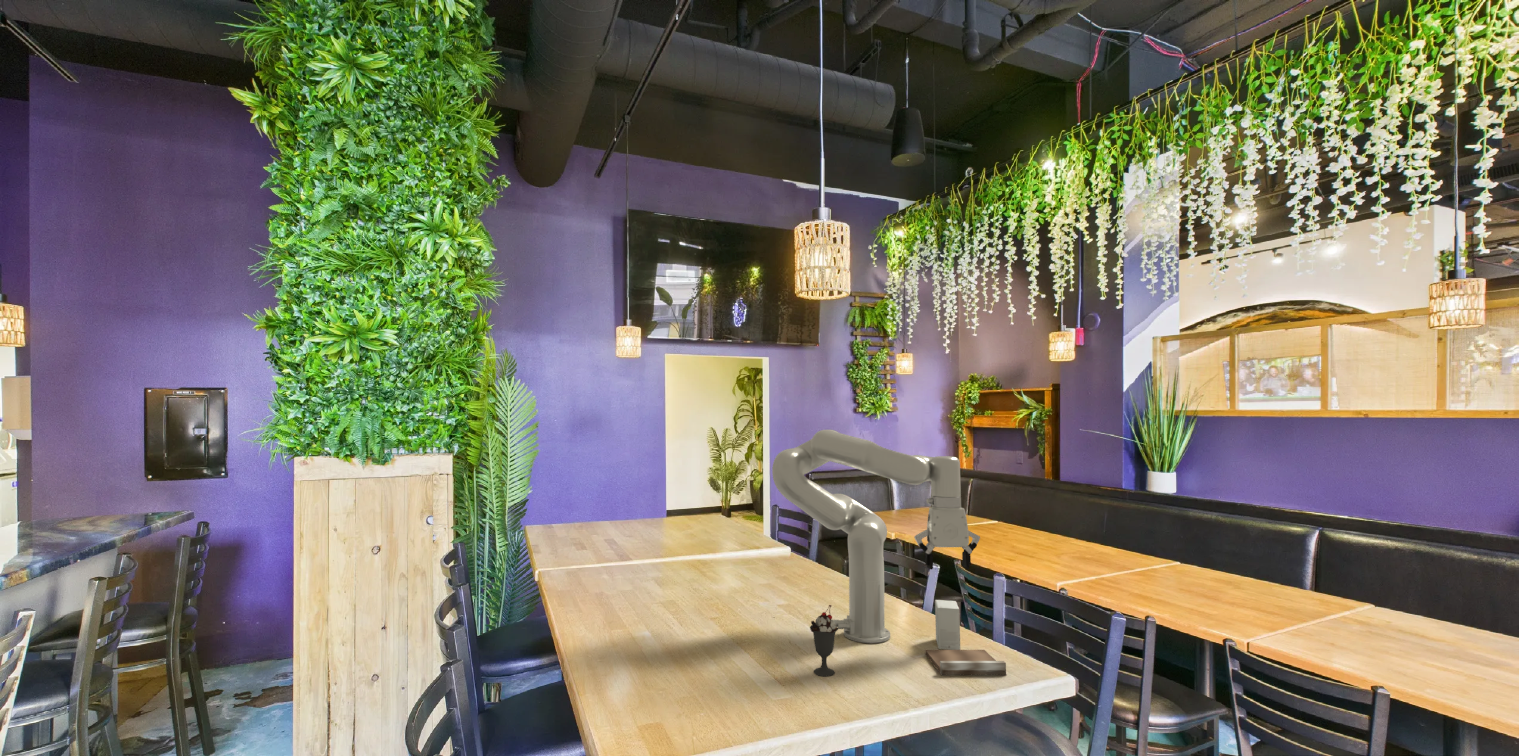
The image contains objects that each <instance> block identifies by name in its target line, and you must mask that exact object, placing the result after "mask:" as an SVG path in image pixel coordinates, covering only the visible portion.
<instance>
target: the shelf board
mask: <svg viewBox="0 0 1519 756" xmlns="http://www.w3.org/2000/svg"><path fill="white" fill-rule="evenodd" d="M924 652H925V653H924V654H925V656H926V657H927V658H928V660H929V661H930V662H931V664H932V665H933V666H934V668H935V669H936V670H937V671H938V673H939V674H940V675H941V676H1007V663H1006V661H1005V660H996V659H995V658H994V656H992V655H991V654H990V653H989V652H988V651H986V649H960V650H947V649H925V651H924Z"/></svg>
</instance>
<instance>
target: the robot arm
mask: <svg viewBox="0 0 1519 756" xmlns="http://www.w3.org/2000/svg"><path fill="white" fill-rule="evenodd" d="M829 462H830V463H834V464H835V463H836V464H837V465H838V464H839V465H841V466H842V465H843V466H846V467H850V468H853V469H856V470H860V471H863V472H865V473H869V474H874V475H877V476H880V477H882V478H885V479H886V478H887V479H889V480H893V481H895V482H900V483H904V484H907V485H912V486H917V485H922V484H923V483H924V482H930V484H931V485H930V486H931V487H930V489H931V495H930V497H929V498H926V500H925V501H926V504H928V505H930V506H931V507H929V508H928V514H927V515H928V516H927V522H926V523H927V524H926V529H925V530H923V531H922V532H920V533H917V534H916V535H914V540H915V542H916V543H917V545H918V547H919V548H920V549H921V550H922V551H923V552H924V565H925V566H926V567H927V568H928V569H929V570H933V569H934V563H933V562H934V555H933V553H932V551H933V550H934V549H935V548H961V549H963V551H962V552H961V556H962V557H961V558H962V567H963V568H964V569H967V570H969V569H970V566H971V564H972V563H971V561H972V560H971V556H972V555H971V554H972V553H973V551H974V549H976V548H977V545H978V543H979V541H980V540H981V537H980V535H978V534H976V533H974V532H973V531H971V530H969V525H968V519H967V515H966V514H967V513H966V510H965V508H964V507H962V497H961V496H962V495H961V494H962V493H961V492H962V491H961V489H962V488H961V487H962V486H961V463H960V459H959V458H958V457H956V456H949V455H947V456H945V455H944V456H943V455H940V456H938V455H937V456H927V455H923V454H922V455H920V454H913V455H912V454H907V453H903V452H899V451H896V450H892V449H889V448H885V447H883V446H881V445H880V444H879V445H878V443H875V442H874V441H871V440H869V439H864V438H860V437H855V436H852V435H849V434H845V433H841V432H839V431H837V430H834V429H821V430H819V431H817V432H816V433H814V435H813V436H812V438H811V439H810V440H807V441H805V442H804V443H802V444H799V445H798V446H796V447H793V448H787V449H784V450H781V451H780V452H779V453H778V454H776V456H775V458H774V460H773V463H772V466H771V467H772V468H771V469H772V470H771V471H772V479H773V480H772V481H773V482H774V485H775V487H776V489H777V490H778V491H779V493H780V494H781V495H782V496H783V497H784V498H785V499H786V500H788V502H790V503H791V504H793V505H795V506H796V507H797V508H798V509H800V510H801V511H803V513H805V514H807V515H808V516H810V517H811V518H812V519H814V520H815V521H816V522H818V523H819V524H821V525H823V526H824V527H825V528H826V529H828V530H831V531H838V530H842V531H843V532H844V533H846V534H847V550H848V551H847V552H848V577H849V578H848V582H849V583H848V589H849V590H848V591H849V592H848V595H849V596H848V597H849V598H848V599H849V600H848V601H849V602H848V603H849V604H848V605H849V607H848V610H849V611H848V612H849V613H848V614H849V615H846V618H843V619H832V620H833V621H834V623H835V625H836V627H837V628H838V630H843V635H844V636H845V638H847V639H848V640H851V641H854V642H857V643H863V644H865V643H866V644H876V643H877V644H878V643H883V642H884V643H885V642H887V641H889V640H890V639H891V631H890V630H889V629H887V628H886V627H885V562H884V561H885V560H884V559H885V558H884V544H885V541H886V539H887V536H888V528H887V525H886V523H885V521H884V520H883V519H882V518H881V517H880V516H879V515H877V514H876V513H875V512H874V511H872V510H870V509H869V508H867V507H865V506H864V505H862V504H861V503H859V502H858V501H857V500H855V499H853V498H852V497H850V496H848V495H846V494H843V493H831V492H829V491H828V490H826V489H825V488H823V487H822V486H820V485H819V484H818V483H816V482H814V481H812V480H811V479H809V478H808V477H806V476H805V475H807V474H808V473H810V472H812V471H814V470H816V469H817V468H819V467H822V466H823V465H825V464H827V463H829ZM970 537H971V539H972V540H971V541H970ZM924 538H926V539H927V540H926V541H927V543H926V544H924V542H923V541H922V540H923V539H924Z"/></svg>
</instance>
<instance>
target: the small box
mask: <svg viewBox="0 0 1519 756" xmlns="http://www.w3.org/2000/svg"><path fill="white" fill-rule="evenodd" d="M934 601H935V602H934V603H935V604H934V605H935V606H934V607H935V608H934V610H935V613H934V614H935V640H936V645H937V650H961V621H960V620H961V618H960V617H961V613H960V612H961V611H960V610H961V609H960V607H959V606H958V603H957V601H956V600H943V599H935V600H934Z"/></svg>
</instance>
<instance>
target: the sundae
mask: <svg viewBox="0 0 1519 756" xmlns="http://www.w3.org/2000/svg"><path fill="white" fill-rule="evenodd" d="M831 607H832V604H829V605H828V608H827V609H826V611H823V612H822V613H821V614H820V615H818V617H816V619H815V621H814V619H813V620H811V621H810V622H811V625H809V629H810V631H811V632H812V634H813V643H814V648H815V652H816V654H817V655H818V656H820V658H821V664H820V667H816V668H815V669H814V670H813V674H814V675H816V676H820V677H831V676H833V675H835V673H836V672H835V670H834V669H833V668H830V667H828V664H827V661H828V660H827V659H828V657H830V655H832V653H833V651H834V646H835V645H834V644H835V640H836V639H835V638H836V632H838V630H839V629H838V627H836V625H835V623H834V621H833V620H834V619H833V615H832V614H831ZM827 611H829V613H828V615H827Z"/></svg>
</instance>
